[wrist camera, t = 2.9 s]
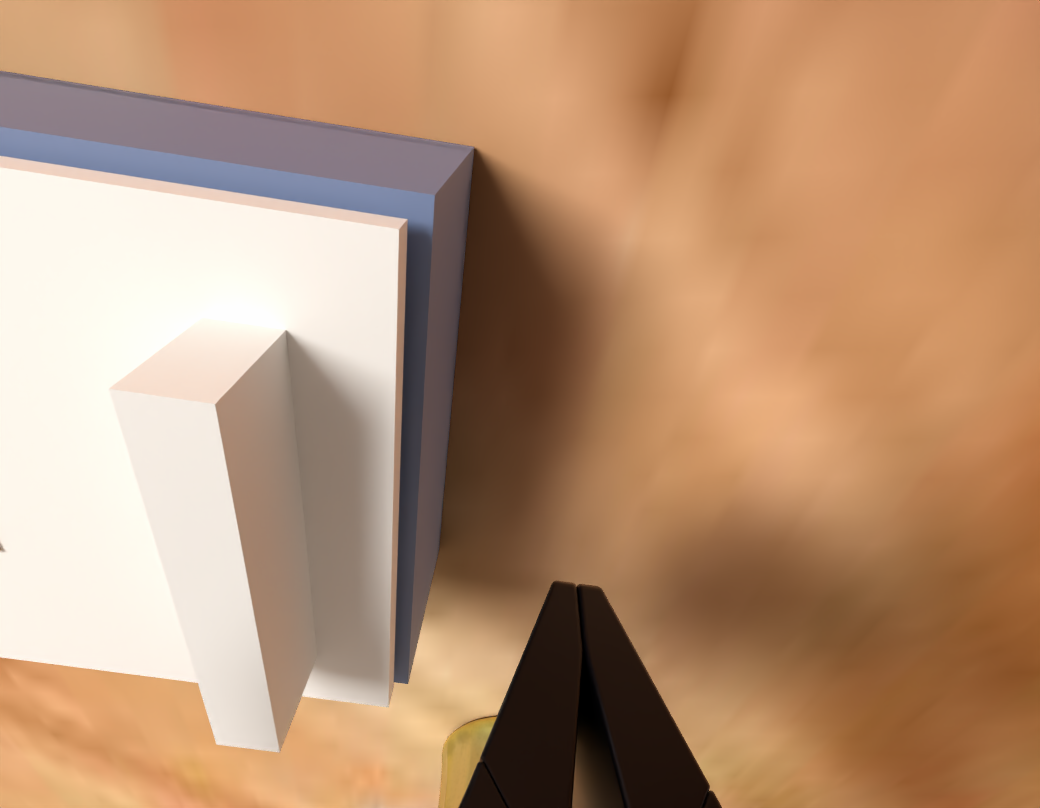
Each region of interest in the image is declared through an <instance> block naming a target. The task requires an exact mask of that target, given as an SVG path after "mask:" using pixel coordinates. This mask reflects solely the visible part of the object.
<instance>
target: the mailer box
mask: <svg viewBox="0 0 1040 808" xmlns="http://www.w3.org/2000/svg"><path fill="white" fill-rule="evenodd" d="M0 156H5V157H11V158H18V159H24V160H31V161H37V162H43V163H50V164H56V165H63V166H69V167H76V168H82V169H88V170H95V171H101V172H108V173H114V174H120V175H127V176H133V177H140V178H146V179H153V180H159V181H165V182H172V183H178V184H185V185H191V186H197V187H204V188H210V189H217V190H223V191H230V192H236V193H242V194H249V195H255V196H262V197H268V198H274V199H281V200H287V201H294V202H300V203H307V204H313V205H319V206H326V207H332V208H339V209H345V210H351V211H358V212H364V213H371V214H377V215H384V216H390V217H396V218H403V219H408V224H407V257H406V291H405V324H404V357H403V390H402V423H401V456H400V490H399V523H398V556H397V589H396V622H395V655H394V682H397V683H405V684H408V682H409V678H410V673H411V669H412V665H413V660H414V656H415V652H416V647H417V643H418V639H419V634H420V630H421V626H422V621H423V617H424V613H425V608H426V604H427V600H428V595H429V591H430V587H431V583H432V578H433V574H434V570H435V565H436V561H437V557H438V552H439V545H440V533H441V522H442V511H443V499H444V488H445V476H446V465H447V454H448V442H449V431H450V419H451V408H452V397H453V385H454V374H455V362H456V351H457V339H458V328H459V317H460V305H461V294H462V282H463V271H464V260H465V248H466V237H467V225H468V214H469V203H470V191H471V180H472V168H473V157H474V147H472V146H466V145H460V144H453V143H447V142H441V141H435V140H428V139H422V138H416V137H410V136H403V135H397V134H391V133H385V132H378V131H372V130H366V129H360V128H354V127H347V126H341V125H335V124H329V123H322V122H316V121H310V120H304V119H297V118H291V117H285V116H279V115H272V114H266V113H260V112H254V111H247V110H241V109H235V108H229V107H223V106H216V105H210V104H204V103H198V102H191V101H185V100H179V99H173V98H166V97H160V96H154V95H148V94H141V93H135V92H129V91H123V90H117V89H110V88H104V87H98V86H92V85H85V84H79V83H73V82H67V81H60V80H54V79H48V78H42V77H35V76H29V75H23V74H17V73H10V72H4V71H0Z"/></svg>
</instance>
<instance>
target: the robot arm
mask: <svg viewBox="0 0 1040 808" xmlns="http://www.w3.org/2000/svg"><path fill="white" fill-rule="evenodd" d="M709 789H710V785H709V783H708V781H707V780H706V778H705V776H704V774H703V772H702V770H701V769H700V767H699V765H698V763H697V761H696V760H695V758H694V756H693V754H692V752H691V750H690V749H689V747H688V745H687V743H686V741H685V739H684V738H683V736H682V734H681V732H680V730H679V729H678V727H677V725H676V723H675V721H674V719H673V718H672V716H671V714H670V712H669V710H668V708H667V707H666V705H665V703H664V701H663V699H662V698H661V696H660V694H659V692H658V690H657V688H656V687H655V685H654V683H653V681H652V679H651V677H650V676H649V674H648V672H647V670H646V668H645V667H644V665H643V663H642V661H641V659H640V657H639V656H638V654H637V652H636V650H635V648H634V646H633V645H632V643H631V641H630V639H629V637H628V636H627V634H626V632H625V630H624V628H623V626H622V625H621V623H620V621H619V619H618V617H617V615H616V614H615V612H614V610H613V608H612V606H611V605H610V603H609V601H608V599H607V597H606V595H605V594H604V592H603V590H602V589H601V588H600V587H598V586H592V585H584V584H579V585H577V587H576V585H575V584H574V583H570V582H563V581H554V582H553V583H552V585H551V587H550V589H549V592H548V594H547V597H546V599H545V601H544V604H543V606H542V609H541V611H540V614H539V616H538V618H537V621H536V623H535V626H534V628H533V630H532V633H531V635H530V638H529V640H528V643H527V645H526V647H525V650H524V652H523V655H522V657H521V659H520V662H519V664H518V667H517V669H516V672H515V674H514V676H513V679H512V681H511V684H510V686H509V689H508V691H507V693H506V696H505V698H504V701H503V703H502V705H501V708H500V710H499V713H498V715H497V718H496V720H495V722H494V725H493V727H492V730H491V732H490V734H489V737H488V739H487V742H486V744H485V747H484V749H483V751H482V754H481V756H480V760H479V762H478V763H477V765H476V768H475V770H474V772H473V775H472V777H471V780H470V782H469V785H468V787H467V789H466V791H465V794H464V796H463V798H462V800H461V802H460V805H459V807H458V808H722V807H721V805H720V803H719V801H718V799H717V797H716V796H715V794H714V792H713V791H709Z"/></svg>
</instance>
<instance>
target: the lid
mask: <svg viewBox="0 0 1040 808" xmlns="http://www.w3.org/2000/svg"><path fill="white" fill-rule="evenodd" d="M407 224H408V219H403V218H396V217H390V216H384V215H377V214H371V213H364V212H358V211H351V210H345V209H339V208H332V207H326V206H319V205H313V204H307V203H300V202H294V201H287V200H281V199H274V198H268V197H262V196H255V195H249V194H242V193H236V192H230V191H223V190H217V189H210V188H204V187H197V186H191V185H185V184H178V183H172V182H165V181H159V180H153V179H146V178H140V177H133V176H127V175H120V174H114V173H108V172H101V171H95V170H88V169H82V168H76V167H69V166H63V165H56V164H50V163H43V162H37V161H31V160H24V159H18V158H11V157H5V156H0V657H3V658H11V659H18V660H26V661H34V662H41V663H49V664H57V665H65V666H72V667H80V668H88V669H96V670H103V671H111V672H119V673H127V674H134V675H142V676H150V677H157V678H165V679H173V680H181V681H188V682H196V683H198V685H199V688H200V691H201V695H202V698H203V701H204V704H205V708H206V711H207V714H208V718H209V721H210V724H211V728H212V731H213V734H214V737H215V741H216V744H217V745H225V746H233V747H241V748H249V749H257V750H264V751H272V752H280V751H281V748H282V745H283V743H284V740H285V738H286V735H287V733H288V730H289V728H290V725H291V722H292V720H293V717H294V715H295V712H296V710H297V707H298V705H299V702H300V699H301V697H302V696H304V697H312V698H320V699H328V700H335V701H343V702H351V703H359V704H366V705H374V706H382V707H389V703H390V699H391V695H392V691H393V687H394V655H395V622H396V589H397V556H398V523H399V490H400V456H401V423H402V390H403V357H404V324H405V291H406V257H407Z"/></svg>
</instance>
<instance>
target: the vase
mask: <svg viewBox="0 0 1040 808" xmlns="http://www.w3.org/2000/svg"><path fill="white" fill-rule="evenodd" d="M496 718H497V717H489V718H484V719H479V720H475V721H472V722H469V723H467V724H465V725H463V726H462V727H460V728H458V729H457V730H455V731H454V732H453V733H452V734H451V735H450V736H449V737H448V738H447V740H446V742H445V744H444V747H443V752H442V775H441V787H440V797H439V806H438V808H458V807H459V805H460V802H461V800H462V798H463V796H464V794H465V791H466V789H467V787H468V785H469V782H470V780H471V777H472V775H473V772H474V770H475V768H476V765H477V763H478V762H479V760H480V756H481V754H482V751H483V749H484V747H485V744H486V742H487V739H488V737H489V734H490V732H491V730H492V727H493V725H494V722H495V720H496Z"/></svg>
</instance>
